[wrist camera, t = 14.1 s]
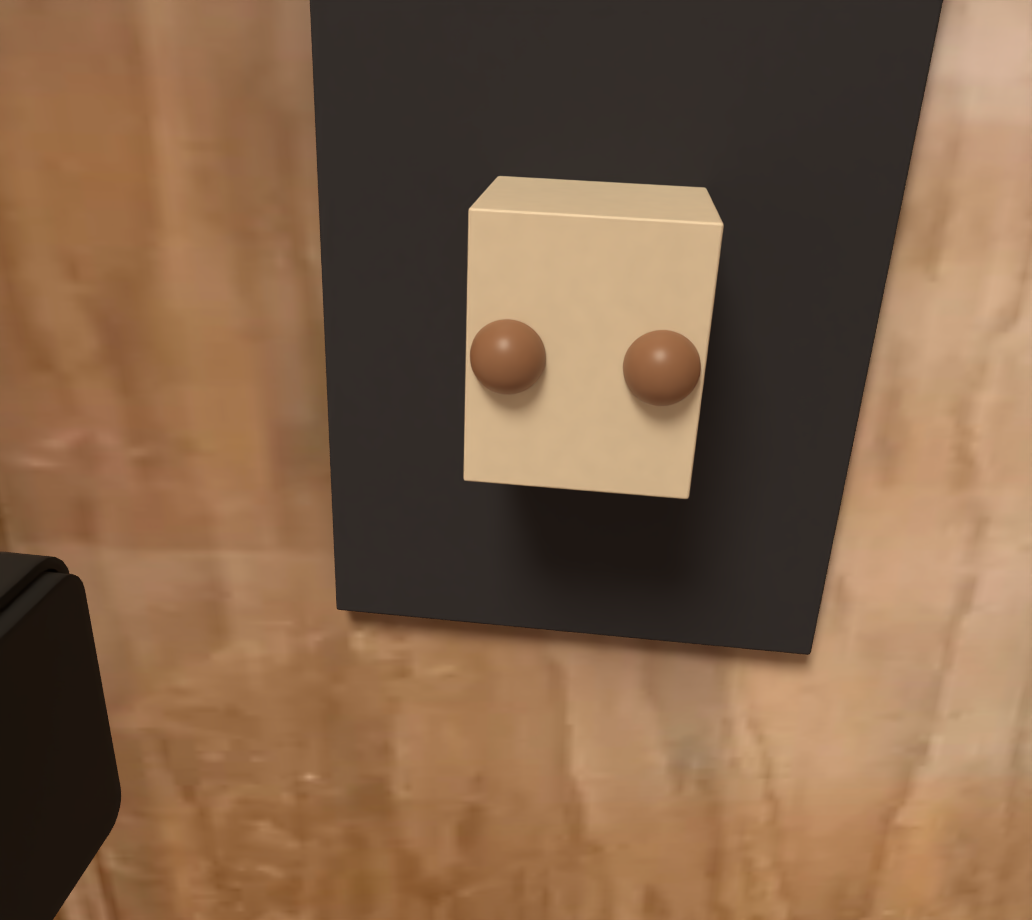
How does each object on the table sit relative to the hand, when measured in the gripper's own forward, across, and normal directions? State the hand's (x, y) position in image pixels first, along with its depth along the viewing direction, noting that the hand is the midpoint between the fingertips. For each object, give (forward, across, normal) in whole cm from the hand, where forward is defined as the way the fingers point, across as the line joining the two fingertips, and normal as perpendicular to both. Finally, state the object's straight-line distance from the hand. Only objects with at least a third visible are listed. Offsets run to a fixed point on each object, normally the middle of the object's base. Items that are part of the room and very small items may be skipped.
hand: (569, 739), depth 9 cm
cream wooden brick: (+17, +1, +1) cm, 17 cm away
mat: (+17, +1, 0) cm, 17 cm away
